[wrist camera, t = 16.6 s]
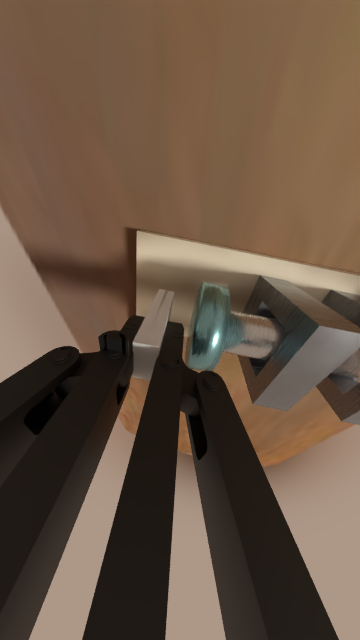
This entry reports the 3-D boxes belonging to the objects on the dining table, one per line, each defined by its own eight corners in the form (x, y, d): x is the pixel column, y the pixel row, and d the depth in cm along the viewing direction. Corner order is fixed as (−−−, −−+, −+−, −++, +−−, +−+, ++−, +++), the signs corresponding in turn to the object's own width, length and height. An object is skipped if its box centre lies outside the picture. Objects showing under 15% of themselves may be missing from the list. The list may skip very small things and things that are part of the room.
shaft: (187, 331, 16) (182, 386, 11) (202, 271, 12) (206, 308, 7) (330, 359, 16) (397, 428, 11) (386, 307, 12) (527, 371, 7)
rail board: (142, 229, 14) (136, 230, 12) (526, 307, 14) (559, 316, 13) (140, 320, 19) (136, 326, 18) (415, 374, 20) (430, 384, 18)
